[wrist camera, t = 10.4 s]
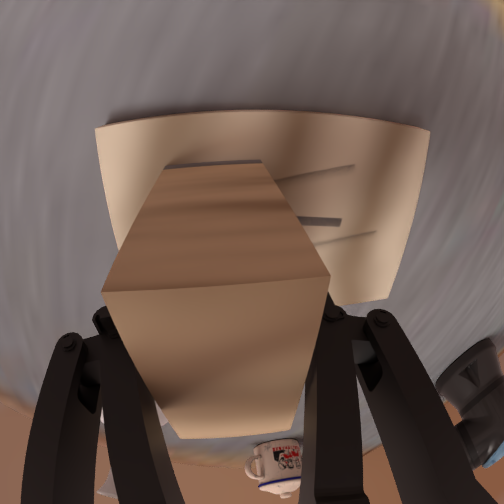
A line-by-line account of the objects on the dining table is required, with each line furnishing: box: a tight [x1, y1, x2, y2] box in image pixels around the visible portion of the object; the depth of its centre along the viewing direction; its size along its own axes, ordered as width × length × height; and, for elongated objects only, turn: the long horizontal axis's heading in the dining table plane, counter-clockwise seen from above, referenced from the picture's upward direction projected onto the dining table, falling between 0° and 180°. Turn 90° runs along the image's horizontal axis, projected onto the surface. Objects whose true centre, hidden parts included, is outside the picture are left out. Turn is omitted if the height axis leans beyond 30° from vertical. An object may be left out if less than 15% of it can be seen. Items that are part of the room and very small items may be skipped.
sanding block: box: [101, 160, 331, 439], centre depth 12 cm, size 9×5×10 cm, turn 0°
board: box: [95, 110, 430, 306], centre depth 17 cm, size 20×14×2 cm
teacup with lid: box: [245, 439, 302, 498], centre depth 38 cm, size 12×9×12 cm
